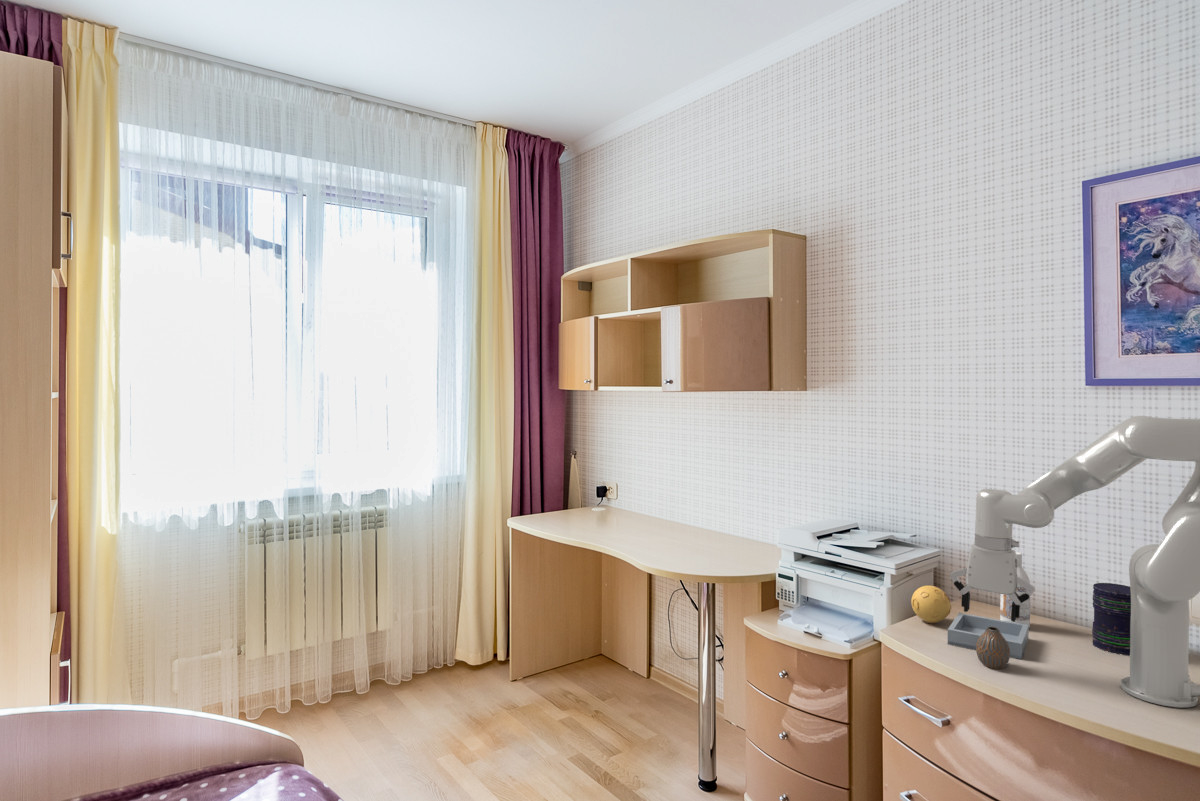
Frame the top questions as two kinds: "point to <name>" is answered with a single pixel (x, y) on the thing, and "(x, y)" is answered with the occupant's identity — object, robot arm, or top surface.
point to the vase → (993, 649)
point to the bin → (972, 627)
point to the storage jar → (1112, 617)
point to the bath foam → (1025, 606)
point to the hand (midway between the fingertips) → (989, 615)
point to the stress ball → (931, 604)
